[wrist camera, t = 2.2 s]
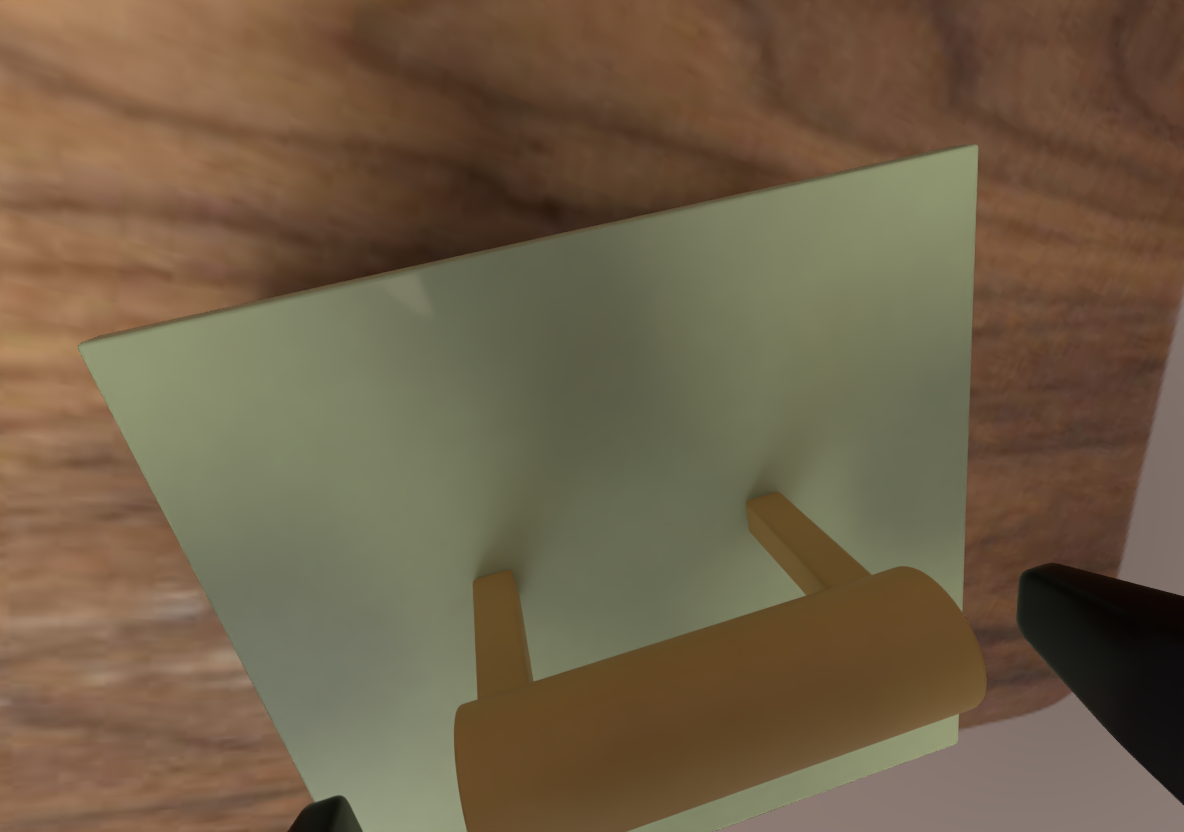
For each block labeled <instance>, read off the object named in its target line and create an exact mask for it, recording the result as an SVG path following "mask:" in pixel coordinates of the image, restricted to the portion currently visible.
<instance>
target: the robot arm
mask: <svg viewBox="0 0 1184 832" xmlns="http://www.w3.org/2000/svg"><path fill="white" fill-rule="evenodd" d="M1016 620H1017V624H1018V627H1019V629H1020V631H1021V633H1022V635H1023V636H1024V638H1025V639H1026V640H1027V641H1028V642H1029V643H1030V645H1031V646H1032V647H1033V648H1034V649H1035V650H1036V651H1037V652H1038V654H1039V655H1040V656H1041V657H1042V658H1043V659H1044V660H1045V661H1046V663H1047V664H1048V665H1049V666H1050V667H1051V668H1052V669H1053V670H1054V671H1055V673H1056V674H1057V675H1058V676H1059V677H1060V678H1061V679H1062V680H1063V682H1064V683H1065V684H1066V685H1067V686H1068V687H1069V688H1070V689H1071V691H1072V692H1073V693H1074V694H1075V695H1076V696H1077V697H1078V698H1079V699H1080V701H1081V702H1082V703H1083V704H1084V705H1085V706H1086V707H1087V708H1088V710H1089V711H1090V712H1091V713H1092V714H1093V715H1094V716H1095V717H1096V719H1097V720H1098V721H1099V722H1100V723H1101V724H1102V725H1103V726H1104V727H1105V728H1106V729H1107V731H1108V732H1109V733H1110V734H1111V735H1112V736H1113V737H1114V738H1115V739H1116V740H1117V741H1118V742H1119V743H1120V744H1121V745H1122V746H1123V747H1124V748H1125V749H1126V750H1127V751H1128V752H1129V753H1130V754H1131V755H1132V756H1133V757H1134V758H1135V759H1136V760H1137V761H1138V762H1139V763H1140V764H1141V765H1142V766H1143V767H1144V768H1145V769H1146V770H1147V771H1148V772H1149V773H1150V774H1151V775H1152V776H1154V777H1155V778H1156V779H1157V780H1158V781H1159V782H1160V783H1161V784H1162V785H1163V786H1164V787H1165V788H1166V789H1167V790H1168V791H1169V792H1170V793H1171V794H1172V795H1173V796H1174V797H1175V798H1177V799H1178V800H1179V801H1180V802H1181V803H1182V804H1183V805H1184V596H1181V595H1177V594H1173V593H1169V592H1165V591H1161V590H1158V589H1153V588H1150V587H1146V586H1142V585H1138V584H1134V583H1130V582H1127V581H1123V580H1119V579H1115V578H1111V577H1107V576H1103V575H1100V574H1096V573H1092V572H1088V571H1084V570H1080V569H1076V568H1073V567H1069V566H1065V565H1061V564H1056V563H1048V564H1044V565H1041V566H1038V567H1035V568H1032V569H1028V570H1026V571H1024V572H1023V573H1022V574H1021V576H1020V578H1019V586H1018V600H1017V614H1016ZM288 832H363V830H362V828H361V826H360V824H359V822H358V820H357V818H356V816H355V814H354V812H353V810H352V808H351V806H350V804H349V802H348V800H347V799H346V798H345V797H344V796H342V795H336V796H333V797H330V798H327V799H324V800H321V801H317V802H314V803H312V804H309V805H308V806H306V807H305V808H304V809H303V810H302V811H301V813H300V814H299V816H298V817H297V818H296V820H295V821H294V823H293V824H292V826H291V827H290V829H289V830H288Z"/></svg>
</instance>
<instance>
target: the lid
mask: <svg viewBox="0 0 1184 832" xmlns="http://www.w3.org/2000/svg"><path fill="white" fill-rule="evenodd" d="M977 171H978V146H977V145H975V144H970V145H962V146H953V147H948V148H943V149H939V150H934V151H930V152H925V153H921V154H916V155H912V156H907V157H903V158H898V159H894V160H889V161H885V162H880V163H876V164H871V165H867V166H862V167H858V168H853V169H849V170H844V171H840V172H835V173H831V174H826V175H822V176H817V177H813V178H808V179H804V180H799V181H795V182H790V183H786V184H781V185H777V186H772V187H767V188H763V189H758V190H754V191H749V192H745V193H740V194H736V195H731V196H727V197H722V198H718V199H713V200H709V201H704V202H700V203H695V204H691V205H686V206H682V207H677V208H673V209H668V210H664V211H659V212H655V213H650V214H646V215H641V216H637V217H632V218H628V219H623V220H619V221H614V222H610V223H605V224H601V225H596V226H592V227H587V228H583V229H578V230H574V231H569V232H565V233H560V234H556V235H551V236H547V237H542V238H538V239H533V240H529V241H524V242H520V243H515V244H511V245H506V246H502V247H497V248H493V249H488V250H484V251H479V252H475V253H470V254H465V255H461V256H456V257H452V258H447V259H443V260H438V261H434V262H429V263H425V264H420V265H416V266H411V267H407V268H402V269H398V270H393V271H389V272H384V273H380V274H375V275H371V276H366V277H362V278H357V279H353V280H348V281H344V282H339V283H335V284H330V285H326V286H321V287H317V288H312V289H308V290H303V291H299V292H294V293H290V294H285V295H281V296H276V297H272V298H267V299H263V300H258V301H254V302H249V303H245V304H240V305H236V306H231V307H227V308H222V309H218V310H213V311H209V312H204V313H200V314H195V315H191V316H186V317H182V318H177V319H173V320H168V321H164V322H159V323H154V324H150V325H145V326H141V327H136V328H132V329H127V330H123V331H118V332H114V333H109V334H105V335H100V336H98V337H95V338H92V339H90V340H87V341H84V342H82V343H80V344H79V345H78V350H79V352H80V354H81V356H82V357H83V359H84V361H85V363H86V365H87V367H88V369H89V371H90V373H91V375H92V377H93V379H94V380H95V382H96V384H97V386H98V388H99V390H100V392H101V394H102V396H103V398H104V400H105V402H106V403H107V405H108V407H109V409H110V411H111V413H112V415H113V417H114V419H115V421H116V423H117V425H118V426H119V428H120V430H121V432H122V434H123V436H124V438H125V440H126V442H127V444H128V446H129V448H130V449H131V451H132V453H133V455H134V457H135V459H136V461H137V463H138V465H139V467H140V469H141V471H142V472H143V474H144V476H145V478H146V480H147V482H148V484H149V486H150V488H151V490H152V492H153V494H154V495H155V497H156V499H157V501H158V503H159V505H160V507H161V509H162V511H163V513H164V515H165V517H166V518H167V520H168V522H169V524H170V526H171V528H172V530H173V532H174V534H175V536H176V538H177V540H178V541H179V543H180V545H181V547H182V549H183V551H184V553H185V555H186V557H187V559H188V561H189V563H190V564H191V566H192V568H193V570H194V572H195V574H196V576H197V578H198V580H199V582H200V584H201V586H202V587H203V589H204V591H205V593H206V595H207V597H208V599H209V601H210V603H211V605H212V607H213V608H214V610H215V612H216V614H217V616H218V618H219V620H220V622H221V624H222V626H223V628H224V630H225V631H226V633H227V635H228V637H229V639H230V641H231V643H232V645H233V647H234V649H235V651H236V653H237V654H238V656H239V658H240V660H241V662H242V664H243V666H244V668H245V670H246V672H247V674H248V676H249V677H250V679H251V681H252V683H253V685H254V687H255V689H256V691H257V693H258V695H259V697H260V699H261V700H262V702H263V704H264V706H265V708H266V710H267V712H268V714H269V716H270V718H271V720H272V722H273V723H274V725H275V727H276V729H277V731H278V733H279V735H280V737H281V739H282V741H283V743H284V745H285V746H286V748H287V750H288V752H289V754H290V756H291V758H292V760H293V762H294V764H295V766H296V768H297V769H298V771H299V773H300V775H301V777H302V779H303V781H304V783H305V785H306V787H307V789H308V791H309V792H310V794H311V796H312V798H313V800H314V802H317V801H321V800H324V799H327V798H330V797H333V796H336V795H342V796H344V797H345V798H346V799H347V800H348V802H349V804H350V806H351V808H352V810H353V812H354V814H355V816H356V818H357V820H358V822H359V824H360V826H361V828H362V830H363V832H714V831H717V830H719V829H722V828H725V827H728V826H731V825H734V824H736V823H739V822H742V821H745V820H747V819H750V818H753V817H756V816H758V815H761V814H764V813H766V812H769V811H772V810H775V809H778V808H781V807H783V806H786V805H789V804H792V803H794V802H797V801H800V800H803V799H806V798H808V797H811V796H814V795H816V794H819V793H822V792H825V791H828V790H830V789H833V788H836V787H839V786H841V785H844V784H847V783H850V782H852V781H855V780H858V779H861V778H863V777H866V776H869V775H872V774H875V773H877V772H880V771H883V770H885V769H889V768H891V767H894V766H897V765H899V764H902V763H905V762H908V761H911V760H913V759H916V758H919V757H922V756H925V755H927V754H930V753H933V752H936V751H938V750H941V749H943V748H947V747H949V746H952V745H955V744H957V742H958V723H959V714H960V713H963V712H966V711H968V710H971V709H974V708H976V707H977V706H978V705H979V704H980V703H981V702H982V700H983V699H984V696H985V693H986V688H987V674H986V667H985V662H984V658H983V655H982V652H981V649H980V646H979V644H978V641H977V639H976V636H975V634H974V632H973V630H972V628H971V626H970V625H969V623H968V621H967V619H966V617H965V616H964V614H963V613H962V606H963V577H964V548H965V519H966V490H967V461H968V432H969V403H970V374H971V345H972V316H973V287H974V258H975V229H976V200H977Z"/></svg>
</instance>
